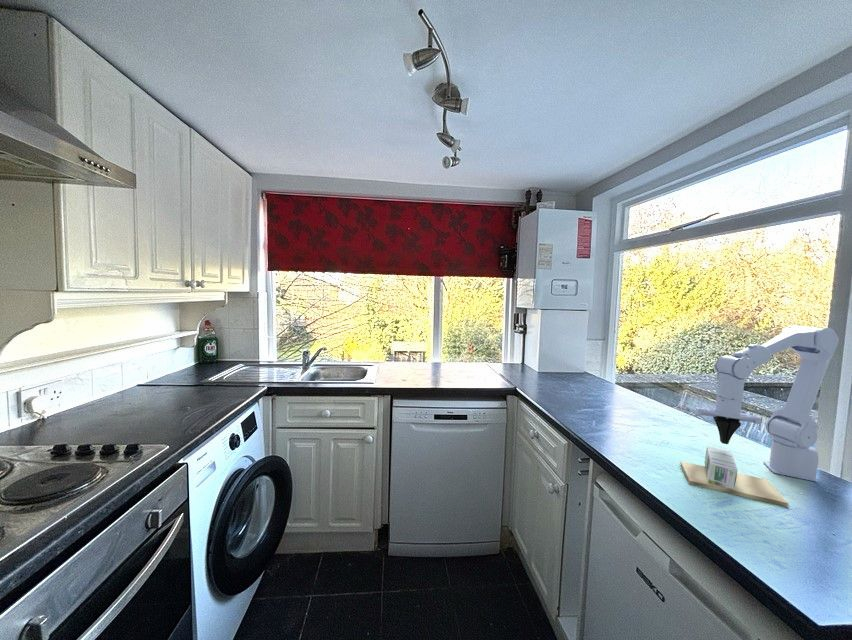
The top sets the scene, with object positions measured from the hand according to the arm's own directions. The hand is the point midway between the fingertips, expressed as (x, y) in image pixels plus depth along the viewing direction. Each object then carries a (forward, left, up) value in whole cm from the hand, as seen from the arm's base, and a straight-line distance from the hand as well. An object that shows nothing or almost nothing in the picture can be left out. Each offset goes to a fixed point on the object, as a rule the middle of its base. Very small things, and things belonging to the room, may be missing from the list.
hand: (724, 442), depth 104 cm
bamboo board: (0, +7, -9) cm, 12 cm away
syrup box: (+1, -1, -5) cm, 5 cm away
